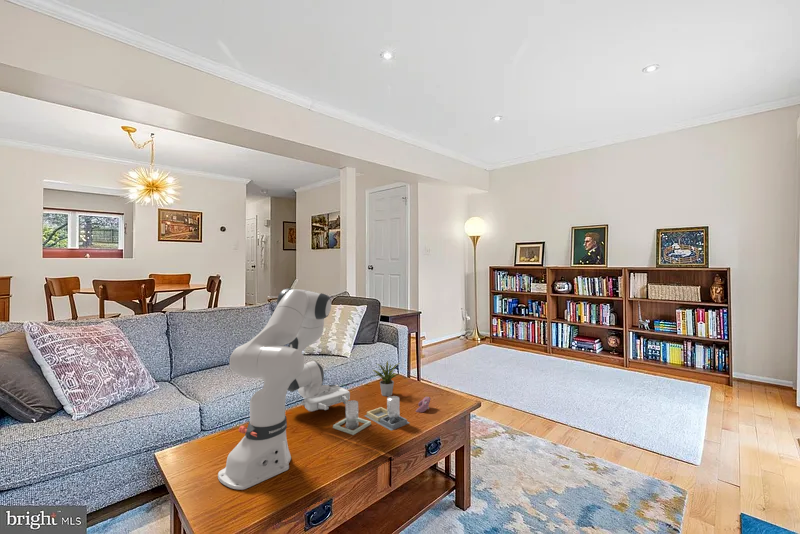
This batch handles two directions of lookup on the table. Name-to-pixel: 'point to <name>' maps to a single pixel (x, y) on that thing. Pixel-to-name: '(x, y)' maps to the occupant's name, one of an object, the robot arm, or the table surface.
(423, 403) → the video game controller
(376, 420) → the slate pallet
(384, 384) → the house plant
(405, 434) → the table surface
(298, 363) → the robot arm
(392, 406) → the cylinder
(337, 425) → the tray
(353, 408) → the steel billet
